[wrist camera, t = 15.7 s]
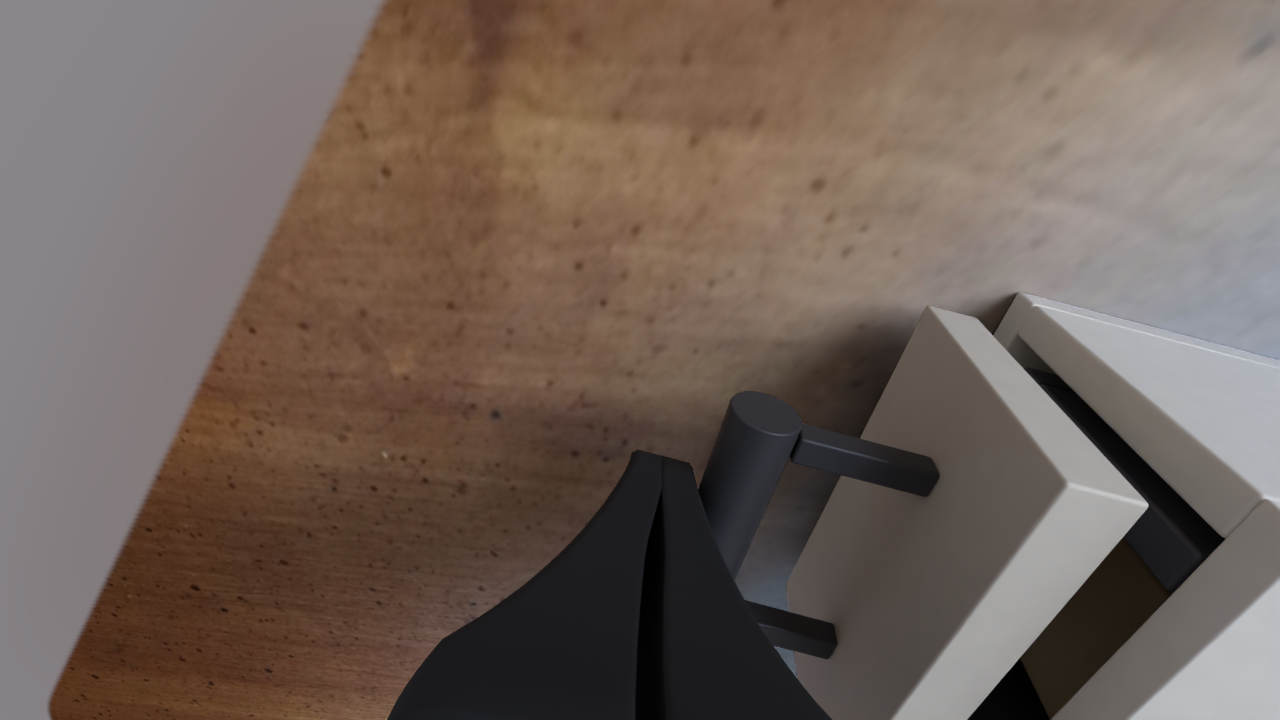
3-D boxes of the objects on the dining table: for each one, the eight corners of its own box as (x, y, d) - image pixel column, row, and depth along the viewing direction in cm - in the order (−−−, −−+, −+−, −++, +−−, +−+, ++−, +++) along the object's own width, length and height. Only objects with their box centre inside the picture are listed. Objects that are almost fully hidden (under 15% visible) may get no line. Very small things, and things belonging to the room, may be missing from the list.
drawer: (652, 549, 18) (622, 774, 13) (751, 257, 14) (770, 404, 8) (1155, 680, 18) (1345, 960, 13) (1417, 432, 14) (1889, 699, 8)
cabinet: (843, 592, 19) (915, 916, 12) (1017, 290, 14) (1318, 541, 7) (1225, 691, 19) (1520, 1073, 12) (1535, 426, 14) (2354, 813, 7)
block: (1131, 628, 16) (1248, 794, 12) (985, 590, 16) (1059, 746, 12) (1237, 518, 14) (1411, 678, 10) (1071, 474, 14) (1189, 619, 10)
